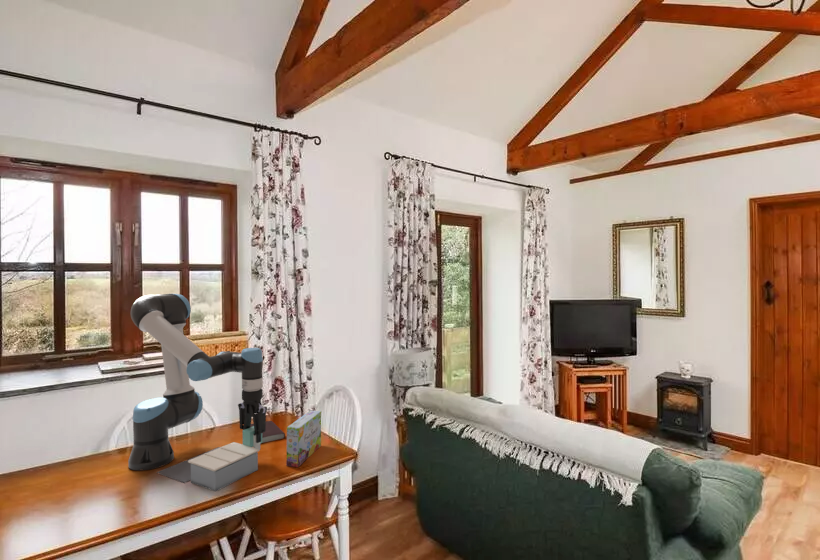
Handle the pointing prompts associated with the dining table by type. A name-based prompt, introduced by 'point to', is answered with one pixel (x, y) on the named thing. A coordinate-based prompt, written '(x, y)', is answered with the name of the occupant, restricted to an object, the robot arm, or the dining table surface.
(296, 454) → the snack box
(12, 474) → the dining table surface
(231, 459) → the lid
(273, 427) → the book
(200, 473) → the tub
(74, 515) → the dining table surface
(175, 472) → the mat
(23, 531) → the dining table surface
